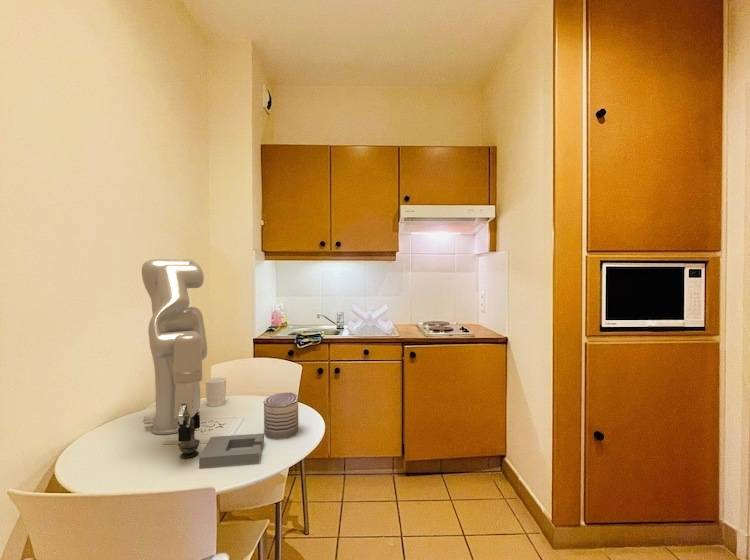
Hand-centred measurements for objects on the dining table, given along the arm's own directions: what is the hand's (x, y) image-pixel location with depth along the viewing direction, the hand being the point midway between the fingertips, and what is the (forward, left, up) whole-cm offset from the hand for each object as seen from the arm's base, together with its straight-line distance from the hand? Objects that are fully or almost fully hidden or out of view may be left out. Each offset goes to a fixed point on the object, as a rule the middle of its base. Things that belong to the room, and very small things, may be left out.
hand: (189, 434), depth 119 cm
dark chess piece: (0, +1, -7) cm, 7 cm away
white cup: (-2, +47, -7) cm, 47 cm away
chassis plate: (+13, -1, -7) cm, 14 cm away
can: (+26, +13, -7) cm, 29 cm away
